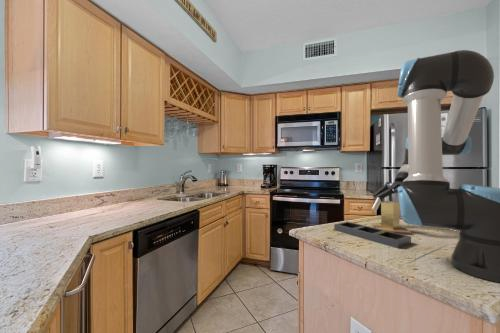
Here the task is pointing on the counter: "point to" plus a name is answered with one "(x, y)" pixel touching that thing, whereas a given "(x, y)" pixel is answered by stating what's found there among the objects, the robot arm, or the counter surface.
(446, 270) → the counter surface
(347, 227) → the compartment tray
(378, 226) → the coaster
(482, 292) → the counter surface
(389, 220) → the golden rectangular block
